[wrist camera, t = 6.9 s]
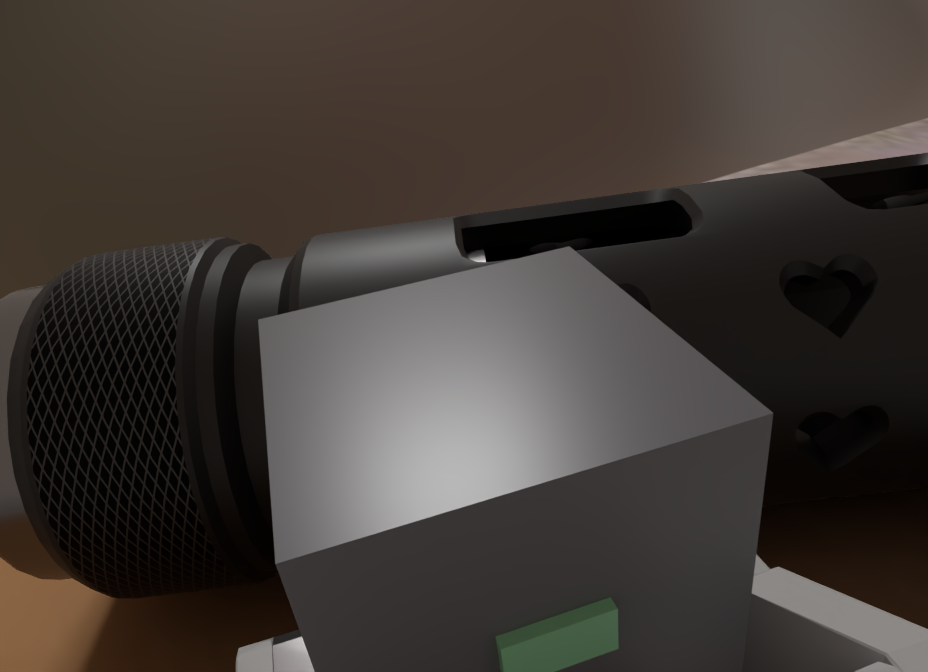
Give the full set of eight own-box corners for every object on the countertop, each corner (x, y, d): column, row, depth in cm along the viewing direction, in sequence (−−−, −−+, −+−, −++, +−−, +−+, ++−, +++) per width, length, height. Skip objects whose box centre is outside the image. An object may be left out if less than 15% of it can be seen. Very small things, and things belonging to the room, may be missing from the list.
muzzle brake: (1128, 577, 18) (1325, 189, 13) (59, 710, 18) (-163, 386, 13) (905, 376, 26) (970, 92, 21) (172, 471, 27) (63, 215, 21)
